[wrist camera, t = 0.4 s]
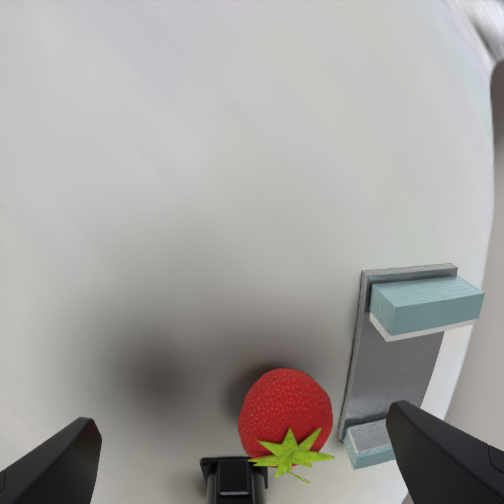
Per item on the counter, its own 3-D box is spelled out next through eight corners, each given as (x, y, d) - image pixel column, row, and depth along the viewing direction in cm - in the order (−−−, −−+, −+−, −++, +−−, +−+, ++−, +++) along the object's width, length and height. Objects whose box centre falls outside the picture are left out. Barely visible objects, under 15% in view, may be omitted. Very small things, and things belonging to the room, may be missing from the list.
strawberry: (322, 333, 22) (369, 434, 12) (304, 407, 24) (330, 504, 14) (239, 330, 21) (244, 442, 12) (234, 407, 23) (236, 510, 14)
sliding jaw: (450, 305, 20) (476, 325, 17) (368, 318, 20) (388, 344, 17) (456, 275, 20) (484, 292, 16) (372, 284, 19) (395, 307, 16)
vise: (410, 416, 25) (429, 447, 21) (337, 433, 25) (350, 470, 21) (450, 263, 21) (488, 285, 16) (362, 270, 21) (392, 299, 16)
